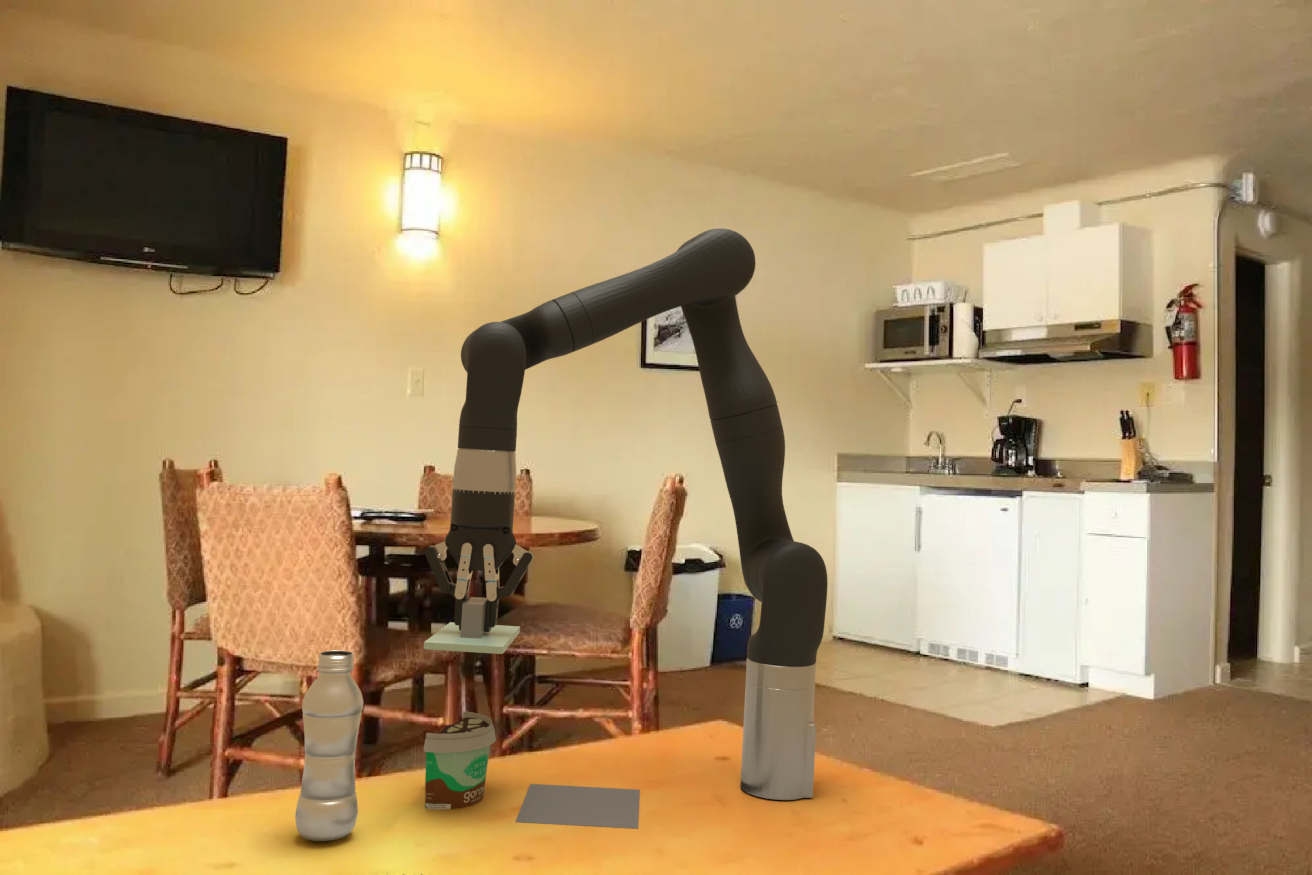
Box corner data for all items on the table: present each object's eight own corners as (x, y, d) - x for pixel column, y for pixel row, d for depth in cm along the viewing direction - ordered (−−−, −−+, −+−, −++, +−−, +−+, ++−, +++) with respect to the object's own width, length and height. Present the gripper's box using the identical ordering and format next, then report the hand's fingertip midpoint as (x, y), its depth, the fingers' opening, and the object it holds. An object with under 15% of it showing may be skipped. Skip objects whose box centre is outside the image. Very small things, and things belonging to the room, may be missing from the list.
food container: (469, 827, 117) (474, 739, 117) (419, 821, 118) (424, 733, 118) (506, 794, 129) (511, 714, 129) (460, 789, 130) (465, 710, 130)
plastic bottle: (368, 832, 114) (379, 651, 114) (330, 853, 107) (342, 661, 108) (320, 822, 116) (331, 645, 116) (280, 842, 109) (291, 654, 110)
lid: (519, 632, 131) (522, 595, 132) (502, 653, 116) (505, 611, 117) (449, 628, 131) (452, 591, 132) (423, 649, 116) (426, 606, 117)
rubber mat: (639, 797, 130) (639, 789, 130) (637, 837, 116) (638, 828, 116) (529, 791, 130) (530, 783, 130) (514, 830, 116) (515, 821, 116)
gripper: (544, 490, 128) (535, 629, 128) (433, 483, 128) (424, 622, 128) (537, 491, 121) (528, 639, 120) (420, 484, 121) (410, 631, 120)
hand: (475, 629), depth 124 cm, fingers closed on lid, 2 cm apart
